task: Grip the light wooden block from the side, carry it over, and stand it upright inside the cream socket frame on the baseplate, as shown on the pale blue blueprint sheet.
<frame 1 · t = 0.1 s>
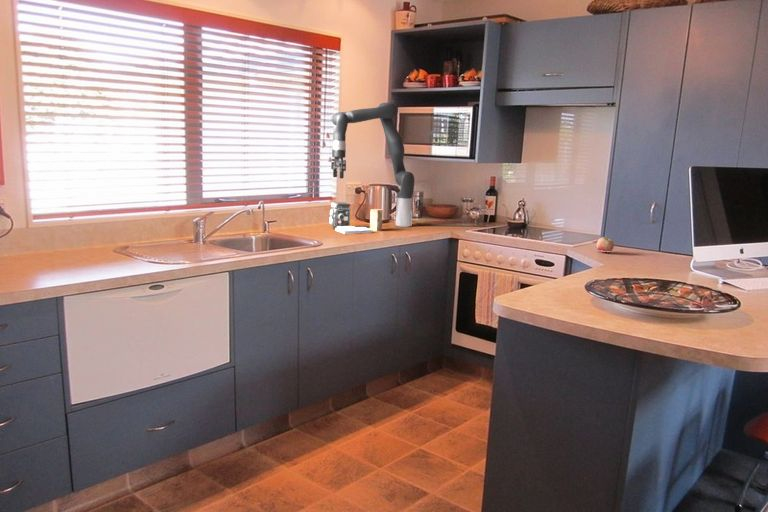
hand: (338, 177, 349), 29 cm above the countertop, tool pointing down, fingers open, 8 cm apart
fruit: (604, 253, 315), on the countertop
baseplate: (354, 231, 346), on the countertop
light wooden block: (375, 230, 355), on the countertop
camera: (338, 228, 356), on the countertop
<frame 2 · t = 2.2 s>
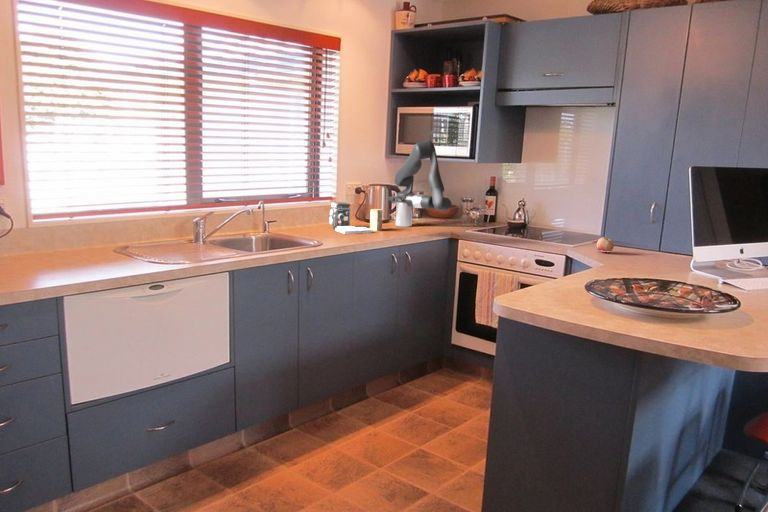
hand: (392, 198, 345), 20 cm above the countertop, tool horizontal, fingers open, 8 cm apart
nothing on the countertop moved.
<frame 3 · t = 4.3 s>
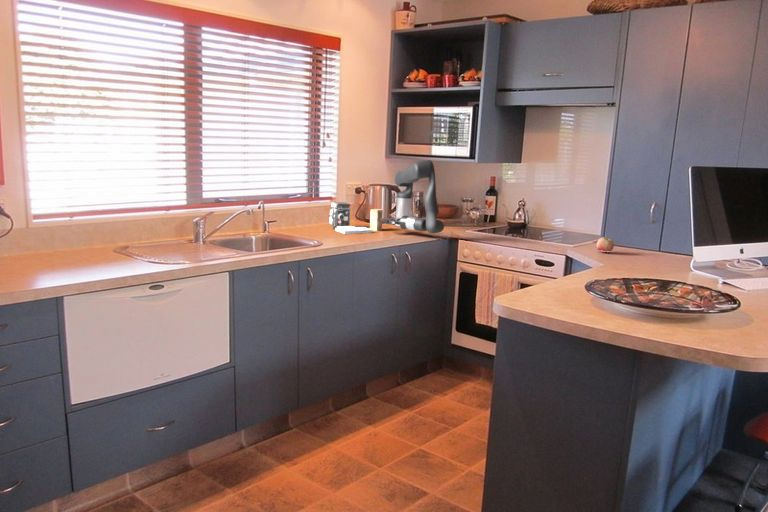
hand: (386, 219, 350), 7 cm above the countertop, tool horizontal, fingers open, 8 cm apart
nothing on the countertop moved.
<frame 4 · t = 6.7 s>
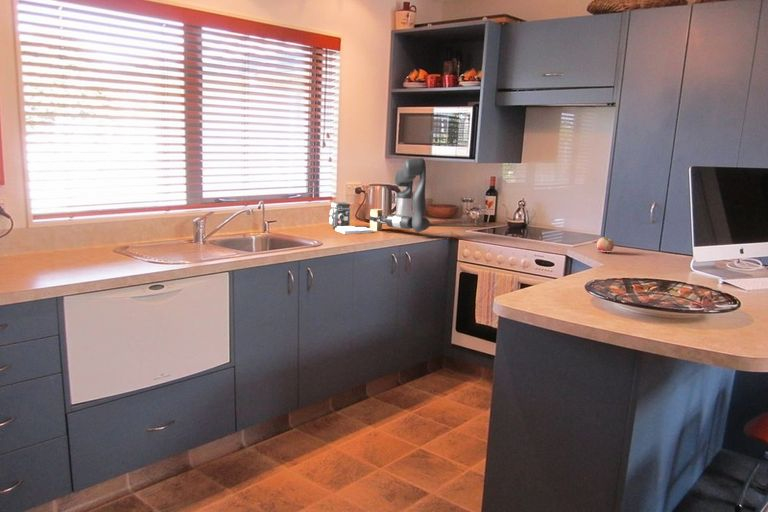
hand: (372, 217, 356), 7 cm above the countertop, tool horizontal, fingers closed on light wooden block, 5 cm apart
light wooden block: (375, 230, 355), on the countertop, touching gripper
everything else where it was.
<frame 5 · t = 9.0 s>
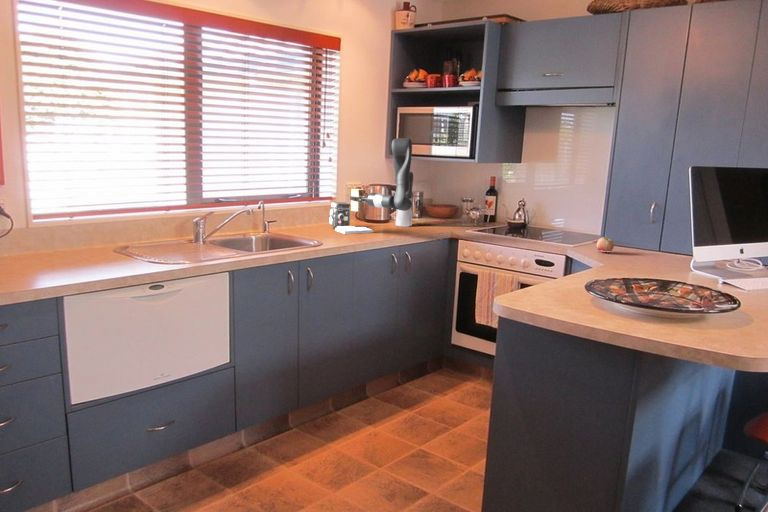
hand: (353, 197, 345), 19 cm above the countertop, tool horizontal, fingers closed on light wooden block, 5 cm apart
light wooden block: (357, 210, 345), point 12 cm above the countertop, touching gripper
everything else where it was.
when the fingers open (10 cm above the countertop, at t = 11.6 s): light wooden block drops 1 cm, resting on baseplate.
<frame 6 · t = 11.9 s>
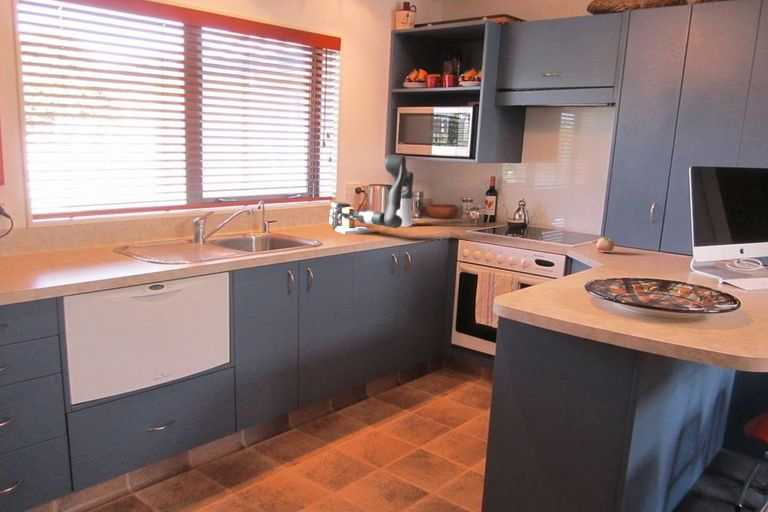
hand: (345, 213, 344), 10 cm above the countertop, tool horizontal, fingers open, 8 cm apart
light wooden block: (348, 229, 344), point 1 cm above the countertop, touching baseplate
everything else where it was.
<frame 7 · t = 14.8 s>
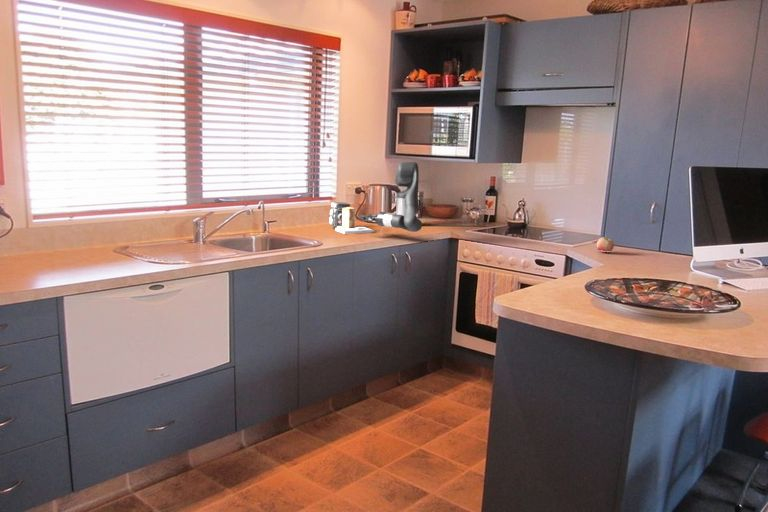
hand: (363, 216, 336), 10 cm above the countertop, tool horizontal, fingers open, 8 cm apart
nothing on the countertop moved.
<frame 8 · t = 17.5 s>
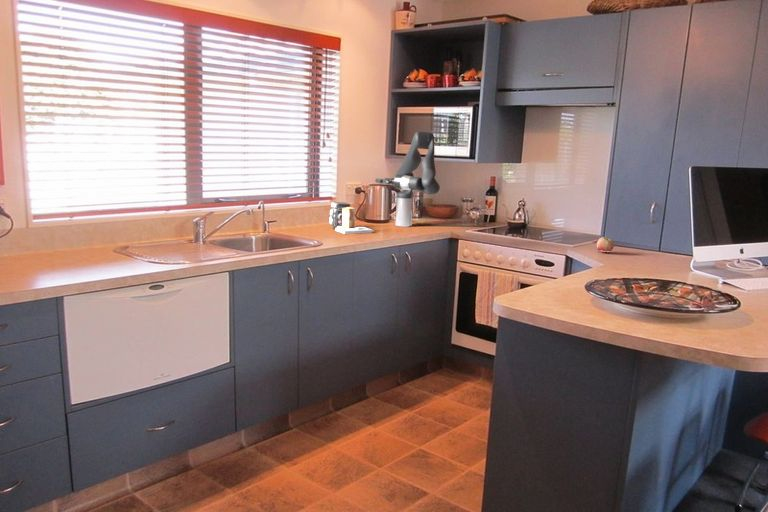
hand: (380, 180, 336), 30 cm above the countertop, tool horizontal, fingers open, 8 cm apart
nothing on the countertop moved.
at the end: light wooden block 0.1 cm from the target spot on the baseplate, point 1.5 cm above the baseplate's base; light wooden block tilted 0°; the gripper is holding nothing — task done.
